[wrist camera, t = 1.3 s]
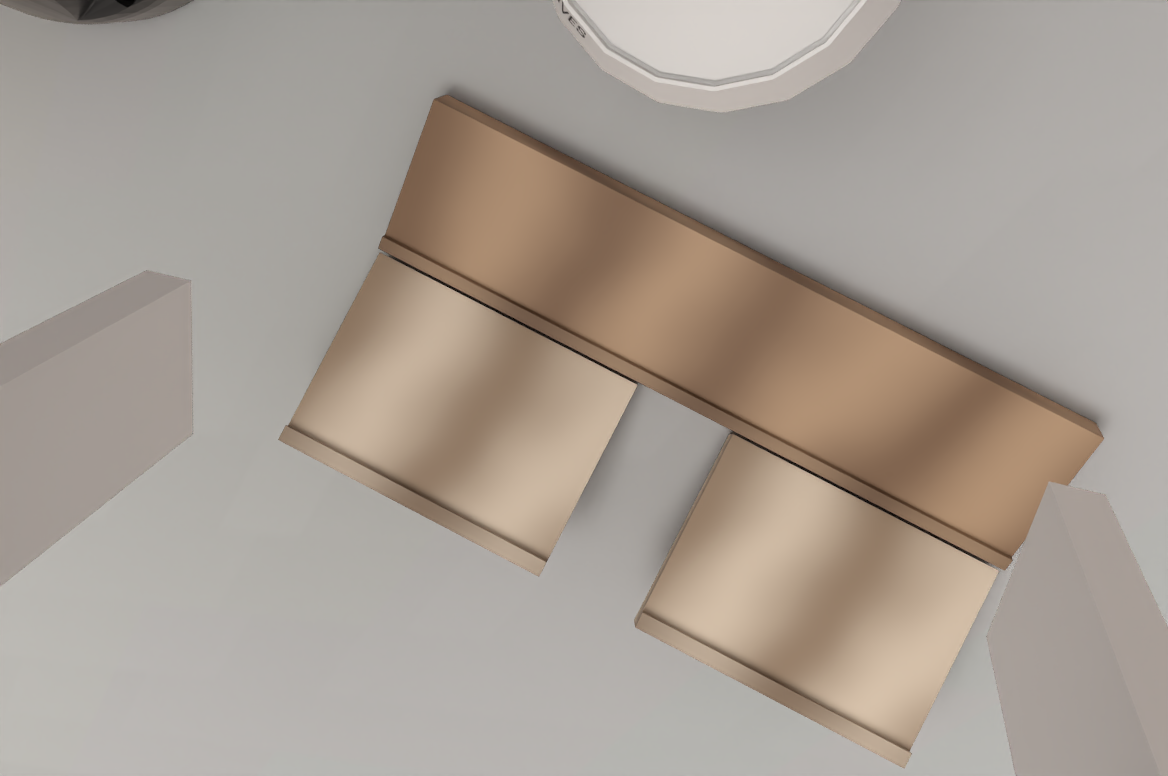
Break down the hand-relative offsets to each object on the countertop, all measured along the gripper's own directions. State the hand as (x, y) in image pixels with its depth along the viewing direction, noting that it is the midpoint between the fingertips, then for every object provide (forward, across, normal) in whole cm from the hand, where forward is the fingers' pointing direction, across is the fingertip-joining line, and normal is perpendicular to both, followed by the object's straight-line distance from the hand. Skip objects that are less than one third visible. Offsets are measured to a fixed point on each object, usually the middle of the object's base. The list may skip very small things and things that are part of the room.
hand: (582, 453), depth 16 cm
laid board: (+23, +1, -6) cm, 24 cm away
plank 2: (+21, +7, -15) cm, 26 cm away
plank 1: (+21, -8, -11) cm, 25 cm away
